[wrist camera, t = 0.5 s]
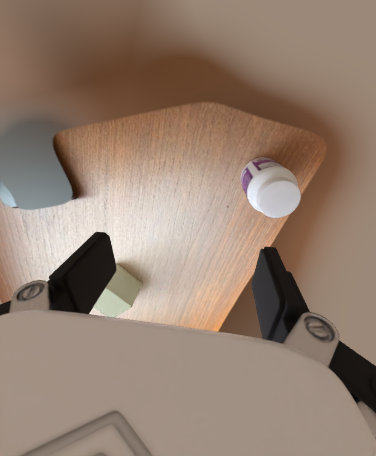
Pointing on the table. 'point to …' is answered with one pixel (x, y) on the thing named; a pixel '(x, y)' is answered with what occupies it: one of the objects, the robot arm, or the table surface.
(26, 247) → the table surface
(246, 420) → the robot arm
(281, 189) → the pill bottle
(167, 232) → the table surface
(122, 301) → the sage block
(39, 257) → the table surface
